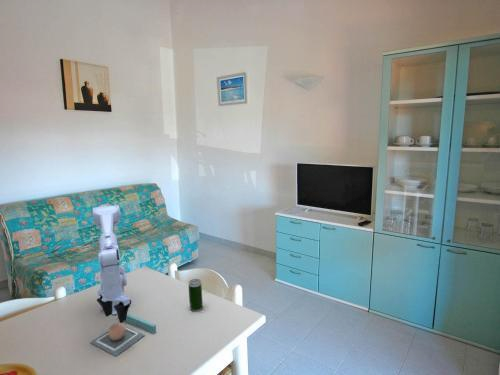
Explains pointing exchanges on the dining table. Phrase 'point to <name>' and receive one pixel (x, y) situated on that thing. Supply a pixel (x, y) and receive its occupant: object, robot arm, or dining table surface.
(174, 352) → the dining table surface
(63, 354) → the dining table surface
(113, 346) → the rubber mat
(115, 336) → the ball
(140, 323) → the acrylic wall
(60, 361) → the dining table surface
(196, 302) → the beer can
